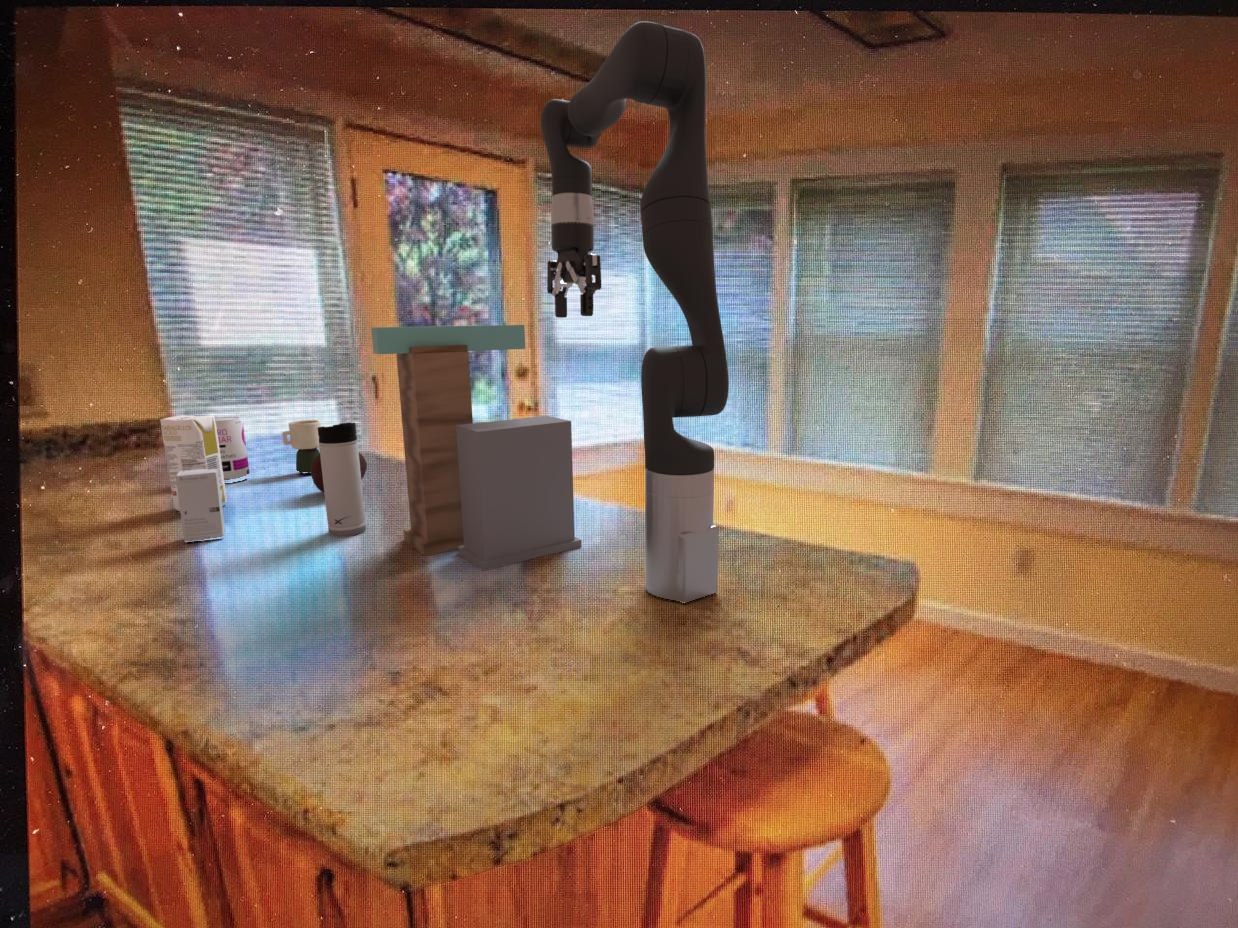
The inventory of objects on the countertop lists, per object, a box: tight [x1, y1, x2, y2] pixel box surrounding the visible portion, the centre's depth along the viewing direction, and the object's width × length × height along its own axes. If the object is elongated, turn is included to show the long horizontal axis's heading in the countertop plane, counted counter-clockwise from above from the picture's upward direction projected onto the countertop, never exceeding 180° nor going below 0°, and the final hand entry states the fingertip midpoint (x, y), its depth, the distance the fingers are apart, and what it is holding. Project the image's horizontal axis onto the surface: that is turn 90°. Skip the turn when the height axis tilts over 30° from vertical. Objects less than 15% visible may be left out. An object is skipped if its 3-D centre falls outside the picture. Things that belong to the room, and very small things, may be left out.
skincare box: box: [176, 468, 226, 542], centre depth 117 cm, size 6×4×12 cm
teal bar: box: [370, 324, 526, 355], centre depth 109 cm, size 4×24×4 cm, turn 121°
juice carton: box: [160, 414, 227, 510], centre depth 135 cm, size 8×9×19 cm
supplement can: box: [215, 416, 251, 480], centre depth 160 cm, size 8×8×15 cm
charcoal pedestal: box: [456, 415, 582, 572], centre depth 108 cm, size 10×18×21 cm, turn 126°
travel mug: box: [318, 422, 367, 538], centre depth 119 cm, size 6×7×20 cm
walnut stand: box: [395, 345, 474, 557], centre depth 111 cm, size 10×11×33 cm
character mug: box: [282, 419, 322, 473], centre depth 167 cm, size 11×7×13 cm, turn 136°
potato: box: [310, 452, 368, 494], centre depth 147 cm, size 11×13×10 cm
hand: (573, 316), depth 122 cm, fingers open, 8 cm apart
